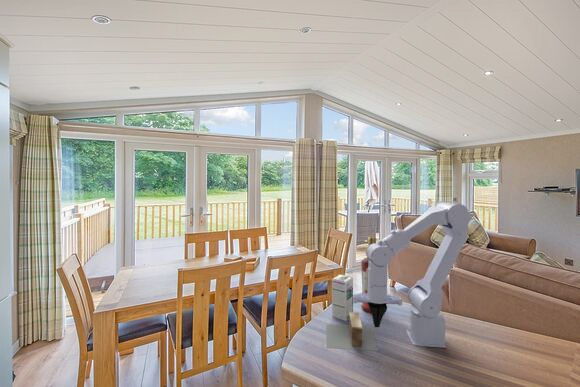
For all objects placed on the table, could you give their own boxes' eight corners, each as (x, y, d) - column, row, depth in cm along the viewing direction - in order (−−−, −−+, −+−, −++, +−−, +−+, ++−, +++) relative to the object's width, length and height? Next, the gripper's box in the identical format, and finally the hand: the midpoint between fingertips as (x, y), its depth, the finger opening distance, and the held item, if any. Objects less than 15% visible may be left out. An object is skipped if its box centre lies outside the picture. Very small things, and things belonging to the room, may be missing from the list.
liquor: (360, 313, 106) (361, 239, 104) (360, 304, 113) (362, 235, 111) (380, 316, 104) (382, 240, 102) (380, 307, 111) (381, 236, 109)
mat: (370, 328, 96) (370, 327, 96) (378, 352, 83) (378, 350, 83) (326, 325, 98) (326, 324, 98) (326, 348, 85) (326, 347, 85)
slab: (358, 330, 94) (358, 312, 94) (361, 346, 85) (362, 327, 85) (349, 329, 95) (349, 312, 94) (351, 346, 86) (352, 326, 85)
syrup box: (346, 322, 100) (346, 281, 99) (331, 317, 104) (331, 278, 103) (353, 315, 105) (353, 277, 104) (338, 311, 108) (339, 273, 107)
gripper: (398, 279, 91) (397, 320, 92) (352, 277, 93) (351, 317, 94) (404, 288, 84) (403, 332, 85) (354, 285, 86) (353, 329, 87)
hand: (376, 325), depth 89 cm, fingers closed
